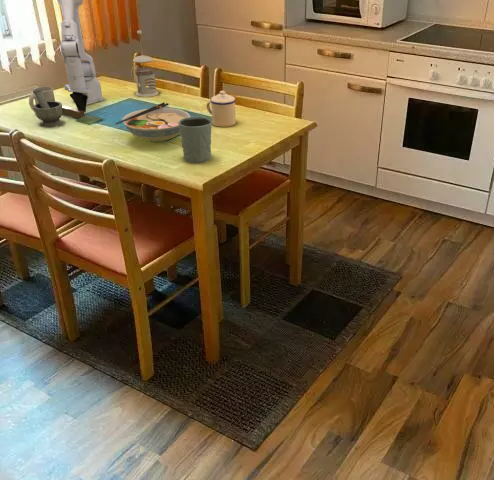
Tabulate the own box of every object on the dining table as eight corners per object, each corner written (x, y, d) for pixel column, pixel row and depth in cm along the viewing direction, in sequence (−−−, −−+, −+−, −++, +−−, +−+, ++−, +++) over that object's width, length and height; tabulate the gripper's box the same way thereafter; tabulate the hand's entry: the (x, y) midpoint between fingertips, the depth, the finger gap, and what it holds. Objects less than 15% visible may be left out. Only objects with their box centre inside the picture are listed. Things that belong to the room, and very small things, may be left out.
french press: (163, 92, 248) (156, 29, 234) (144, 99, 240) (136, 34, 226) (146, 88, 252) (139, 27, 238) (127, 95, 244) (117, 31, 230)
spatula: (57, 115, 221) (56, 108, 220) (70, 111, 226) (68, 104, 224) (90, 124, 213) (88, 117, 212) (102, 120, 217) (101, 112, 216)
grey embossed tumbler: (176, 161, 185) (172, 124, 178) (191, 150, 193) (188, 114, 186) (204, 166, 182) (201, 128, 175) (219, 154, 190) (217, 118, 183)
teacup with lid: (241, 121, 217) (240, 90, 210) (226, 128, 210) (225, 96, 204) (215, 116, 222) (213, 85, 215) (200, 123, 215) (198, 91, 209)
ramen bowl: (158, 157, 188) (155, 132, 183) (108, 143, 198) (104, 119, 193) (207, 134, 205) (205, 111, 201) (158, 122, 215) (156, 100, 211)
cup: (61, 112, 225) (56, 88, 220) (37, 118, 218) (31, 94, 213) (51, 108, 229) (46, 85, 224) (27, 114, 222) (21, 90, 217)
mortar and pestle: (70, 123, 214) (64, 90, 208) (48, 130, 208) (40, 96, 201) (52, 117, 220) (45, 84, 213) (30, 123, 214) (22, 90, 207)
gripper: (54, 74, 214) (62, 111, 222) (78, 81, 207) (85, 118, 214) (70, 70, 219) (77, 106, 226) (94, 76, 211) (101, 113, 219)
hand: (82, 112), depth 221 cm, fingers closed, pressing on spatula
